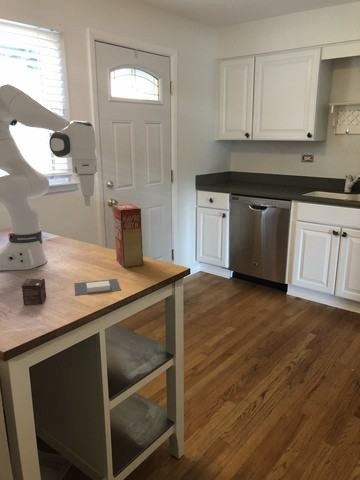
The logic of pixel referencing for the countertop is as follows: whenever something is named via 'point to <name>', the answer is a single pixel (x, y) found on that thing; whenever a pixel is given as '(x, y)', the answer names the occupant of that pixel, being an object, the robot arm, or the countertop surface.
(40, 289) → the box
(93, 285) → the tile
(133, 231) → the food packaging
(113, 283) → the mat
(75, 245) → the countertop surface
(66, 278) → the countertop surface
